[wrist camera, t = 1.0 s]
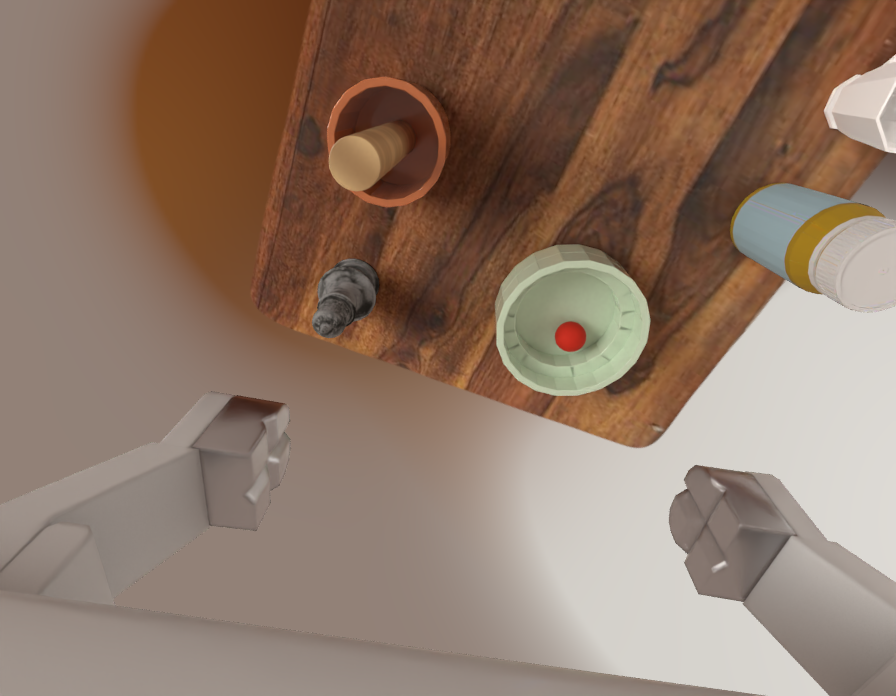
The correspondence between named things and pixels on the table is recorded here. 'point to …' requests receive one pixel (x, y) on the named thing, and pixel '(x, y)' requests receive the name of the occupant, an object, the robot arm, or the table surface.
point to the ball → (570, 336)
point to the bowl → (570, 299)
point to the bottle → (820, 244)
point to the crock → (385, 104)
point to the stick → (370, 154)
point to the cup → (867, 107)
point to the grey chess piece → (345, 296)
